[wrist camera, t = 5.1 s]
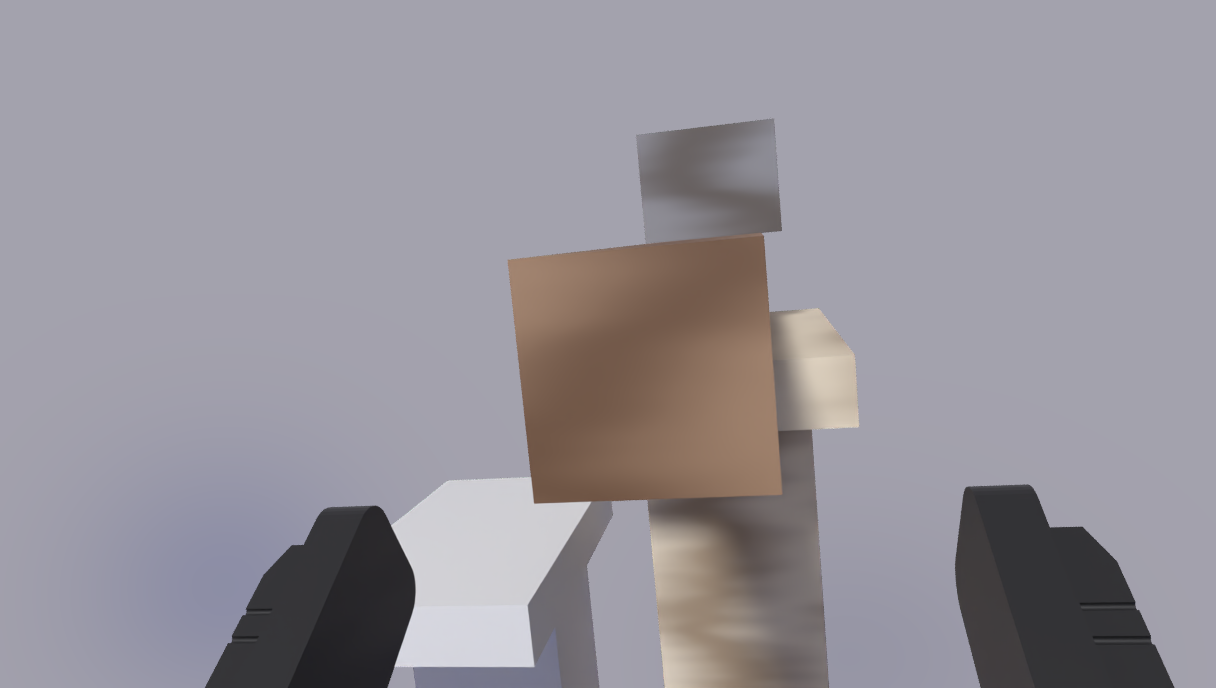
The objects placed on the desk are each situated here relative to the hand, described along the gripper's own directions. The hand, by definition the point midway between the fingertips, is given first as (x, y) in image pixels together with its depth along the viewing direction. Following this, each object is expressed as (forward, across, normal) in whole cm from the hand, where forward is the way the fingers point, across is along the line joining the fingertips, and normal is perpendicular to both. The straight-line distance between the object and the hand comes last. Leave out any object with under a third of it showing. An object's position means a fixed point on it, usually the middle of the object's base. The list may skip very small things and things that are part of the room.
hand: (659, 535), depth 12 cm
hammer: (+11, 0, +6) cm, 13 cm away
